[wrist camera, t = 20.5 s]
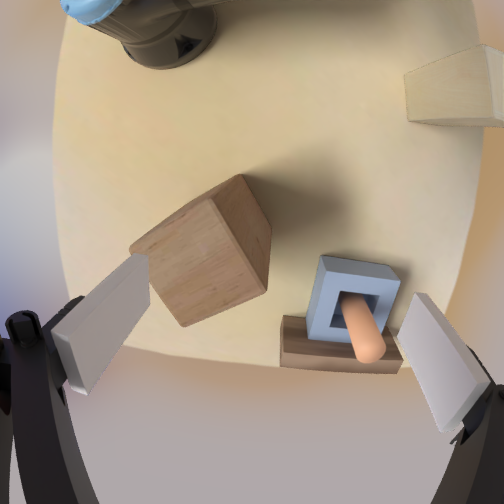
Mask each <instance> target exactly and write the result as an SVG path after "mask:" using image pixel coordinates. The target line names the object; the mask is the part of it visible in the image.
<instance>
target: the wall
mask: <svg viewBox="0 0 504 504" xmlns="http://www.w3.org/2000/svg"><path fill="white" fill-rule="evenodd" d="M381 335H382V338H383V340H384V342H385V344H386V351H385V353H384V355H383V356H382V357H381V358H380V359H379V360H377V361H375V362H372V363H362V362H360V361H358V360H357V358H356V355H355V351H354V348H353V345H352V343H343V342H332V341H321V340H311V339H308V333H307V325H306V318H299V317H291V316H284V315H283V319H282V323H281V328H280V367H286V368H296V369H306V370H318V371H331V372H348V373H349V372H350V373H374V374H397V372H398V370H399V368H400V367H401V365H402V363H403V361H404V360H403V358H402V356H401V354H400V352H399V350H398V348H397V346H396V343H395V341H394V339H393V337H392V335H391V333H390V331H389V329H388V327H387V326H384V328H383V331H382V333H381Z"/></svg>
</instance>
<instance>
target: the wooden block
mask: <svg viewBox="0 0 504 504" xmlns="http://www.w3.org/2000/svg"><path fill="white" fill-rule="evenodd" d="M271 235H272V228H271V226H270V224H269V222H268V221H267V219H266V217H265V215H264V213H263V212H262V210H261V208H260V206H259V204H258V203H257V201H256V199H255V197H254V195H253V194H252V192H251V190H250V188H249V187H248V185H247V183H246V181H245V180H244V178H243V176H242V175H241V174H237V175H235V176H234V177H232V178H230V179H228V180H227V181H225V182H223V183H221V184H219V185H218V186H216V187H214V188H213V189H211V190H209V191H207V192H206V193H204V194H202V195H201V196H199V197H197V198H195V199H194V200H192V201H190V202H189V203H187V204H186V205H184V206H183V207H181V208H180V209H179V210H177V211H176V212H174V213H173V214H172V215H170V216H169V217H168V218H166V219H165V220H163V221H162V222H161V223H159V224H158V225H157V226H155V227H154V228H153V229H151V230H150V231H149V232H147V233H146V234H145V235H143V236H142V237H141V238H139V239H138V240H137V241H136V242H134V243H133V244H132V245H131V246H130V248H129V252H130V254H131V255H132V254H134V253H137V254H143V255H148V268H149V282H150V284H151V285H152V287H153V288H154V290H155V291H156V292H157V294H158V295H159V297H160V298H161V299H162V301H163V302H164V304H165V305H166V306H167V308H168V309H169V311H170V312H171V313H172V315H173V316H174V317H175V319H176V320H177V321H178V323H179V324H180V325H181V326H182V327H187V326H189V325H192V324H194V323H197V322H199V321H202V320H204V319H206V318H209V317H211V316H213V315H216V314H218V313H221V312H223V311H225V310H228V309H230V308H232V307H235V306H237V305H239V304H241V303H244V302H246V301H248V300H251V299H253V298H255V297H257V296H260V295H262V294H264V293H265V292H266V291H267V287H268V274H269V262H270V249H271Z"/></svg>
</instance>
